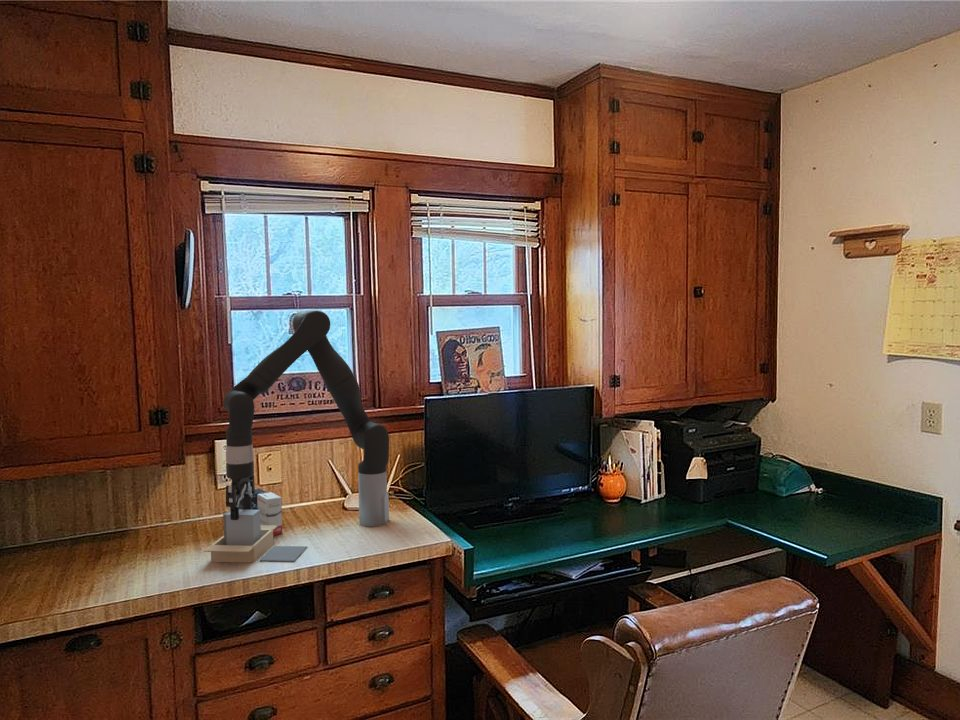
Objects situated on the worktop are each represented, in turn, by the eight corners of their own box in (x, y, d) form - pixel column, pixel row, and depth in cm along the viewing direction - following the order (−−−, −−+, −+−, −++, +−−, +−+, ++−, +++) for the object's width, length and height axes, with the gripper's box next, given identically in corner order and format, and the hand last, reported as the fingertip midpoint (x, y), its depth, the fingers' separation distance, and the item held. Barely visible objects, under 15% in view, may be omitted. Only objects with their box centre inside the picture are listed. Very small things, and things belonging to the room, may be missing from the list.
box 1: (245, 527, 213) (244, 495, 213) (237, 523, 217) (236, 492, 217) (268, 522, 219) (267, 491, 218) (260, 518, 223) (259, 487, 222)
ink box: (283, 533, 208) (281, 496, 207) (267, 536, 205) (266, 499, 204) (272, 526, 214) (271, 490, 214) (257, 529, 211) (256, 493, 210)
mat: (307, 547, 195) (307, 546, 195) (294, 562, 184) (294, 560, 184) (274, 547, 196) (274, 545, 196) (259, 561, 185) (259, 560, 185)
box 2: (261, 549, 194) (260, 509, 193) (254, 555, 189) (253, 515, 188) (232, 549, 195) (230, 509, 194) (224, 555, 190) (223, 514, 189)
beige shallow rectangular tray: (278, 539, 202) (277, 525, 202) (249, 567, 181) (248, 551, 180) (238, 539, 203) (237, 524, 203) (204, 566, 181) (203, 550, 181)
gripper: (242, 466, 182) (243, 523, 183) (262, 454, 196) (263, 508, 198) (215, 465, 183) (217, 522, 184) (237, 454, 197) (239, 507, 198)
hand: (241, 515), depth 191 cm, fingers open, 8 cm apart
